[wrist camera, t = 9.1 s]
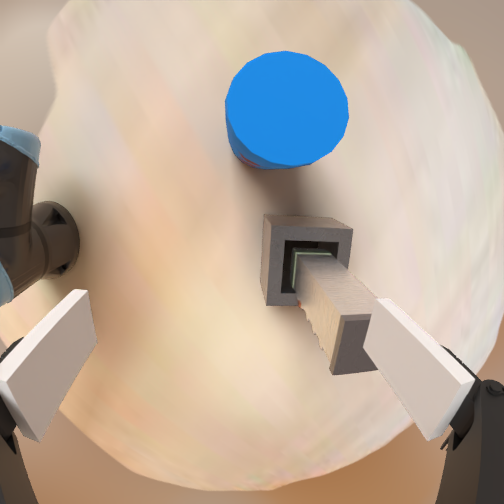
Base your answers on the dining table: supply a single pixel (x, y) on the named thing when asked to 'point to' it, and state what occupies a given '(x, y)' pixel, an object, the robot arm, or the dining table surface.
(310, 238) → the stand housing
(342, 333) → the column
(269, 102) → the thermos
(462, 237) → the dining table surface
